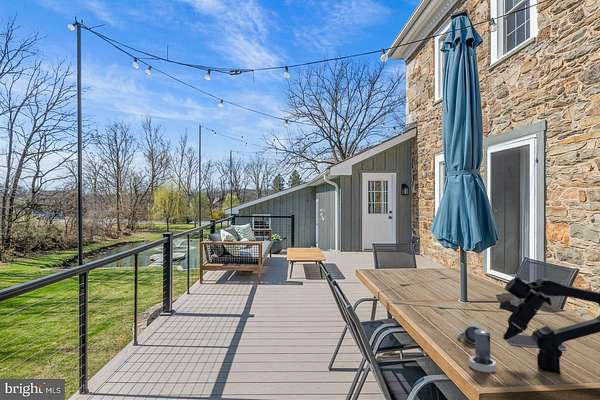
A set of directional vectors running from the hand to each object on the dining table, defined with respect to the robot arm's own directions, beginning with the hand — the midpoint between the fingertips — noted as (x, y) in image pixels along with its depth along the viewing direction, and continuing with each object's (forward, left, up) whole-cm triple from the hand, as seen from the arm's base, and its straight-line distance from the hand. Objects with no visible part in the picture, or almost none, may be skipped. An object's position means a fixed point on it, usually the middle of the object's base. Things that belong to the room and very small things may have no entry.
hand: (504, 338), depth 138 cm
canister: (+7, +7, -10) cm, 14 cm away
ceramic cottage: (0, -111, -11) cm, 112 cm away
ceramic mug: (+16, -21, -11) cm, 28 cm away
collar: (+7, +7, -10) cm, 14 cm away
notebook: (-8, -34, -11) cm, 37 cm away
